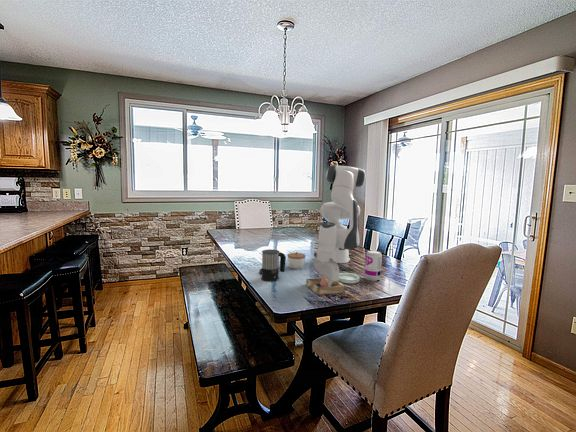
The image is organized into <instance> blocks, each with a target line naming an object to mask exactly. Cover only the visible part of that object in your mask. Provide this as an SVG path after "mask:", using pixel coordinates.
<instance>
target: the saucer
mask: <svg viewBox="0 0 576 432" xmlns="http://www.w3.org/2000/svg"><path fill="white" fill-rule="evenodd" d="M360 280H361V276H359V275H357V274H356V273H352V272H351V273H350V272H339V280H338V282H340V283H342V284H351V285H352V284H358V283H359V282H360Z"/></svg>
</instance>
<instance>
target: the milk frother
mask: <svg viewBox="0 0 576 432" xmlns="http://www.w3.org/2000/svg"><path fill="white" fill-rule="evenodd" d="M261 255H262V258H261V268H260V269H259V271H258V273H259V274H260V275H261V278H260V279H261V281H265V282H276V281H278V280H279V279H280V278H279V272H281V273H284V272H285V270H286V255H285V254H284V252H280V251H279V250H277V249H263V250H262V251H261ZM279 259H280V260H279ZM279 261H280V262H279Z"/></svg>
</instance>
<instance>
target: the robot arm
mask: <svg viewBox="0 0 576 432" xmlns="http://www.w3.org/2000/svg"><path fill="white" fill-rule="evenodd" d="M325 178H326V180H327V182H328V183H330V184H333V185H332V189H331V194H330V198H331V200H332V201H328V202H324V203H322V205H321V207H320V209H319V210H320V214H321V217H323V218H324V219H325V220H326V222H323V223H321V224H320V225H319V230H318V240H317V241H318V242H317V243H318V248H317V251H315V252H313V269H314V270H315V271H316V272H317V273H318V278H320V281H321V280H322V279H323V278H325V277H326V278H328V283H327V287H333V285H332V282H333V281H338V280H339V273H340V268H339V265H338V264H346V263H349V261H351V258H350V256H349V255H350V254H349V253H350V251H353V250H355V249H357V248H358V247H359V245H360V240H361V239H360V231H359V227H360V226H359V217H360V214H361V207H360V206H359V204H358V201H357V199H355V198H354V189H355V188H360V187H362V186H363V185H364V184H365V183H366V179H367V176H366V170H364V169H362V168H360V167H359V168H358V167H354V166H349V165H348V166H347V165H336V164H333V165H330V166H328V168H327V170H326V173H325ZM340 220H349V227H347V226H346V225H344V224H342V223H341V222H340ZM338 282H339V281H338Z"/></svg>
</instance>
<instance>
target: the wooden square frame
mask: <svg viewBox="0 0 576 432" xmlns="http://www.w3.org/2000/svg"><path fill="white" fill-rule="evenodd" d="M324 278H326V277H325V276H324ZM327 279H328V278H327ZM305 285H306V286H307V287H308V288H309V289H311V290H312V292H314V293H315V294H316V295H318V296H319V295H321V296H322V295H329V294H330V295H333V294H340V293H341V294H342V293H346V285H344V283H342V282H340V281H333V282H332V286H331V287H323V288H322V287H319V286H317V285H320V278H319V277H315V278H314V277H313V278H306V281H305Z"/></svg>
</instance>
